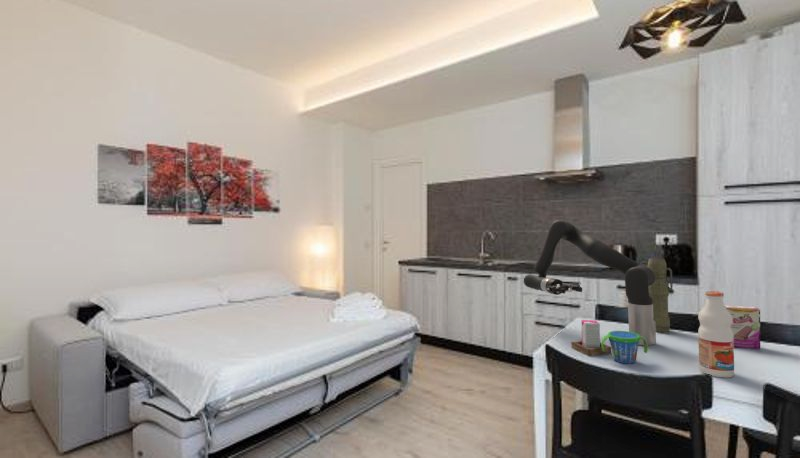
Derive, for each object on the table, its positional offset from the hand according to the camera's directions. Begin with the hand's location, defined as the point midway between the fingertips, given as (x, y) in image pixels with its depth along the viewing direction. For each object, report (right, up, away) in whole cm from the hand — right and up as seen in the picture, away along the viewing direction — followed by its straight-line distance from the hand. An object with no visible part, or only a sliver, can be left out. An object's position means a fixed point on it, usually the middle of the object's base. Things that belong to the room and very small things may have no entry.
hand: (573, 290), depth 173 cm
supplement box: (+1, -22, -13) cm, 26 cm away
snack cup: (+8, -23, -27) cm, 36 cm away
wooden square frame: (+1, -23, -14) cm, 27 cm away
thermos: (+46, -21, +11) cm, 52 cm away
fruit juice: (+31, -22, -41) cm, 56 cm away
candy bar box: (+63, -21, -15) cm, 68 cm away
